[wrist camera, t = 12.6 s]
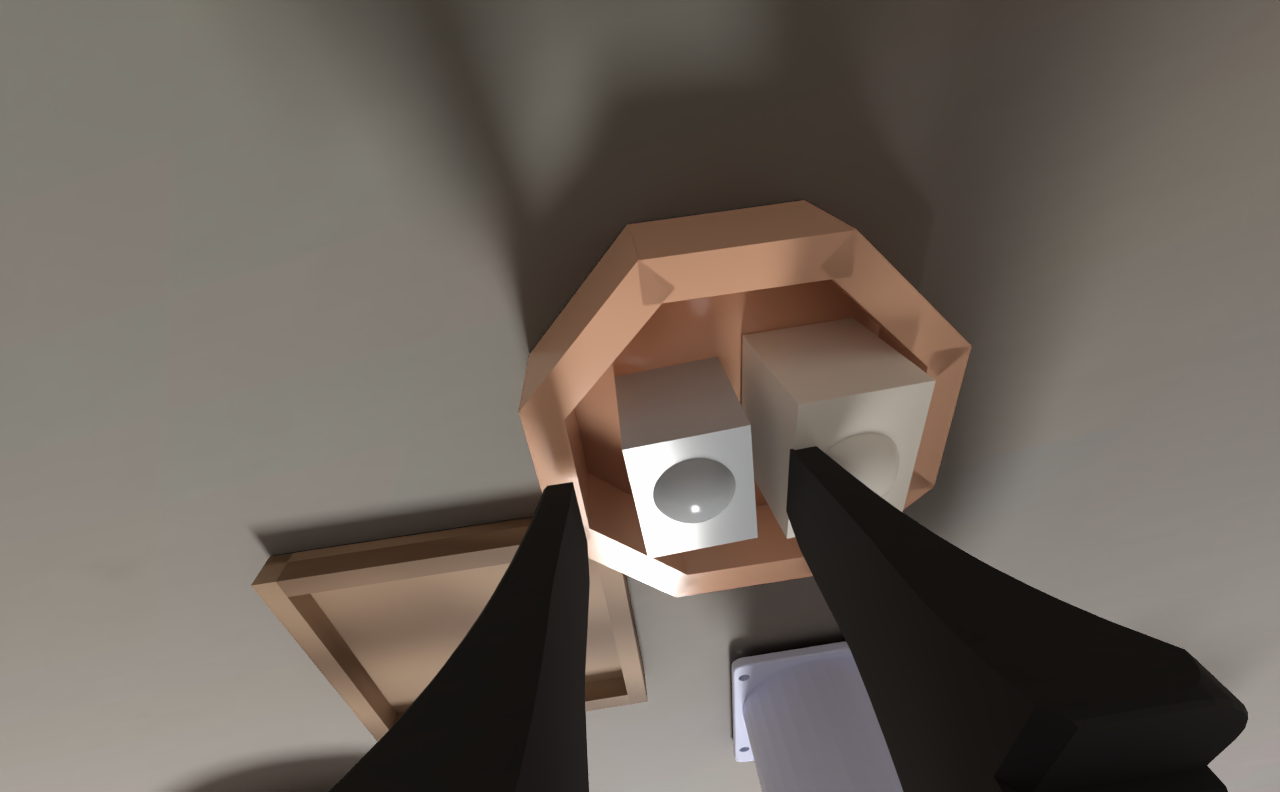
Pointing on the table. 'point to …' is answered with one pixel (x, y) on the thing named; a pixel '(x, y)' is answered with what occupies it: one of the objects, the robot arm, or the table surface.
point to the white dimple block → (833, 407)
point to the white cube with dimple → (687, 456)
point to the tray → (428, 615)
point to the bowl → (714, 326)
